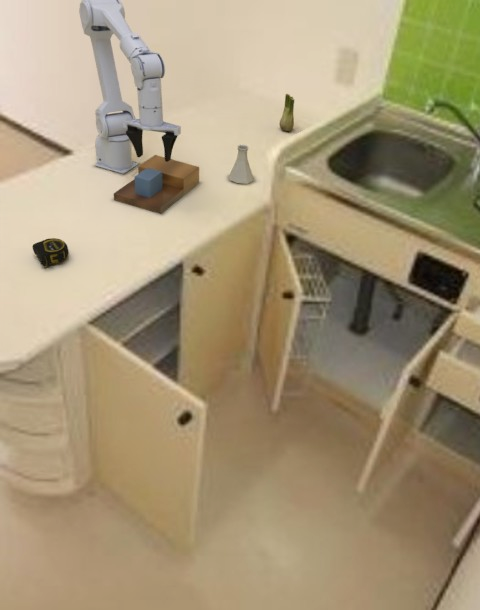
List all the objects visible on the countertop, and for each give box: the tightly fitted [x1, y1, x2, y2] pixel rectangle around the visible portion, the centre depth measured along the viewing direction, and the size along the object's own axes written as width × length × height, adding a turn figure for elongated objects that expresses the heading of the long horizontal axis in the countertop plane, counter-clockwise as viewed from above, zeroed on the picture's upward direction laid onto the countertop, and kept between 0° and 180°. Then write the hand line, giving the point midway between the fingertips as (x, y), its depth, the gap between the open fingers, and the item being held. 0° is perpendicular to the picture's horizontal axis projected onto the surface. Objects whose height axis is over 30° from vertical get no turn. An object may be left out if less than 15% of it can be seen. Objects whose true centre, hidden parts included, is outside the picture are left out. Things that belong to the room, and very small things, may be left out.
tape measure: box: [32, 237, 70, 267], centre depth 144 cm, size 7×7×4 cm
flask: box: [228, 144, 254, 185], centre depth 186 cm, size 7×7×10 cm
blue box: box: [134, 168, 163, 198], centre depth 170 cm, size 4×6×5 cm
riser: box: [113, 154, 200, 215], centre depth 175 cm, size 14×21×5 cm, turn 161°
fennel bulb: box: [279, 93, 295, 132], centre depth 219 cm, size 6×5×12 cm
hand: (154, 158), depth 166 cm, fingers open, 7 cm apart
